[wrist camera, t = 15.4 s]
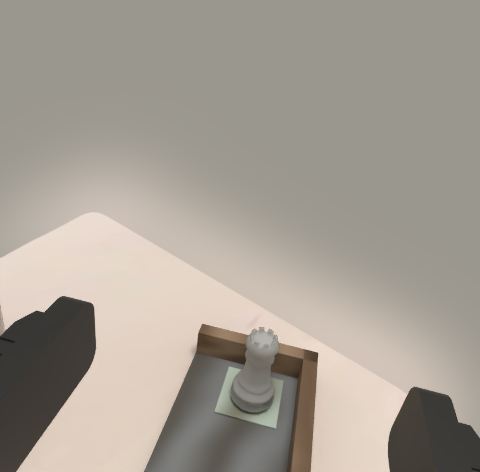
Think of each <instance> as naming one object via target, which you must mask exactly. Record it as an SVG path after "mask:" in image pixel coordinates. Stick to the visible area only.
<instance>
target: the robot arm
mask: <svg viewBox="0 0 480 472" xmlns="http://www.w3.org/2000/svg"><path fill="white" fill-rule="evenodd" d="M95 350H96V338H95V316H94V306H93V304H92V303H89V302H85V301H81V300H78V299H74V298H70V297H66V296H62V297H60V298H58V299H57V300H56V301H55V302H54V303H53V304H52V305H51V306H50V307H49V308H48V309H47V310H46V311H45V312H40V311H35V312H33V313H31V314H29V315H27V316H25V317H23V318H21V319H19V320H17V321H16V322H14V323H13V324H12V325H11V326H10V327H9V328H8V329H7V330H6V331H5V329H4V323H3V317H2V312H1V306H0V472H16V471H17V470H18V468H19V467H20V465H21V464H22V463H23V461H24V460H25V458H26V457H27V455H28V454H29V453H30V451H31V450H32V448H33V447H34V446H35V444H36V443H37V441H38V440H39V439H40V437H41V436H42V434H43V433H44V432H45V430H46V429H47V427H48V426H49V425H50V423H51V422H52V420H53V419H54V418H55V416H56V415H57V413H58V412H59V410H60V409H61V408H62V406H63V405H64V403H65V402H66V401H67V399H68V398H69V396H70V395H71V394H72V392H73V391H74V389H75V388H76V387H77V385H78V384H79V382H80V381H81V380H82V378H83V377H84V375H85V374H86V373H87V371H88V369H89V368H90V366H91V364H92V361H93V358H94V355H95ZM388 459H389V468H390V472H480V438H479V437H478V435H477V434H476V433H475V431H474V430H473V428H472V427H471V426H470V425H466V424H462V423H459V422H458V420H457V417H456V413H455V410H454V407H453V403H452V400H451V399H450V397H449V396H448V395H445V394H441V393H437V392H433V391H429V390H426V389H422V388H418V387H413V388H411V390H410V391H409V393H408V395H407V397H406V399H405V401H404V403H403V405H402V407H401V409H400V411H399V413H398V415H397V418H396V420H395V422H394V424H393V426H392V428H391V431H390V435H389V441H388Z"/></svg>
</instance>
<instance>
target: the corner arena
mask: <svg viewBox="0 0 480 472" xmlns="http://www.w3.org/2000/svg"><path fill="white" fill-rule="evenodd" d="M248 336H249V335H245V334H241V333H237V332H233V331H229V330H225V329H221V328H217V327H213V326H209V325H205V324H202V326H201V328H200V330H199V333H198V342H197V351H196V354H195V356H194V359H193V361H192V363H191V366H190V368H189V370H188V372H187V375H186V377H185V379H184V382H183V384H182V386H181V389H180V391H179V393H178V395H177V398H176V400H175V402H174V405H173V407H172V409H171V411H170V414H169V416H168V418H167V421H166V423H165V425H164V428H163V430H162V432H161V434H160V437H159V439H158V441H157V444H156V446H155V448H154V450H153V453H152V455H151V457H150V460H149V462H148V464H147V467H146V469H145V471H144V472H310V471H311V455H312V440H313V424H314V409H315V393H316V378H317V362H318V353H317V352H313V351H309V350H305V349H301V348H297V347H293V346H289V345H285V344H281V343H279V346H280V349H279V352H278V353H277V354H276V355H275V356H274V358H275V359H274V363H273V364H272V365H271V372H270V375H271V377H272V380H273V383H274V387H275V392H274V399H273V403H272V404H271V405H270V407H269V408H268V409H266V410H263V411H261V412H248V411H244V410H242V409H241V408H240V407H238V406H237V405H236V404H235V403H234V401H233V399H232V398H231V393H230V389H231V386H232V382H233V379H234V377H235V375H236V374H238V373H239V372H240V371H241V370H242V369H243V368H244V365H245V363H246V356H245V353H246V350H247V348H246V345H245V340H246V338H247V337H248Z"/></svg>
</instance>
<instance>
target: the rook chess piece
mask: <svg viewBox="0 0 480 472" xmlns="http://www.w3.org/2000/svg"><path fill="white" fill-rule="evenodd" d="M273 332H274V331H272V330H271V329H269V330H268V332H265V331H264V327H259V331H257V330H256V329H254V330H252V332H251V334H250V335H249V336H248V337H247V338H246V340H245V345H246V348H247V350H246V353H245V356H246V363H245V365H244V368H243V369H242V370H241V371H240V372H239V373H238V374H236V375H235V377H234V379H233V382H232V386H231V389H230V393H231V398H232V399H233V401H234V403H235V404H236V405H237V406H238V407H240V408H241V409H242V410H244V411H248V412H261V411H263V410H266V409H268V408H269V407H270V405H271V404H272V403H273V399H274V392H275V387H274V383H273V380H272V377H271V375H270V372H271V365H272V364H273V363H274V359H275V358H274V356H275V355H276V354H277V353H278V352H279V349H280V346H279V342H278V341H277V340H278V338H277V335H274V336H273Z"/></svg>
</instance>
